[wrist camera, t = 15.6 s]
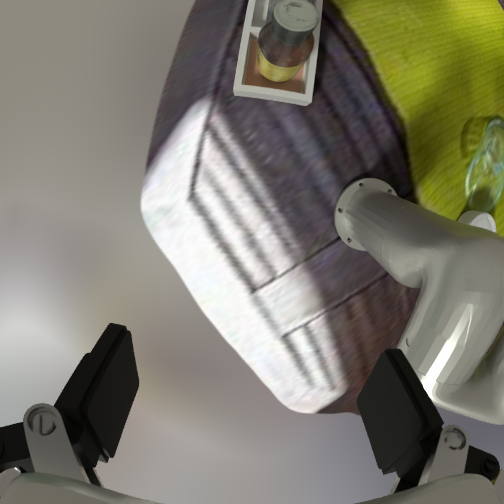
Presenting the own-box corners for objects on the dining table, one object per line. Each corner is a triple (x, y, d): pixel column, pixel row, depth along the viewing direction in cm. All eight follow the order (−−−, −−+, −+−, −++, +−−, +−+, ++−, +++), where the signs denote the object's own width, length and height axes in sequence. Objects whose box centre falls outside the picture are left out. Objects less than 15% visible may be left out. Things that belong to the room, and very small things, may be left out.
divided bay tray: (252, -9, 30) (253, -21, 26) (318, 1, 30) (323, -9, 27) (234, 95, 37) (233, 90, 34) (305, 106, 38) (311, 102, 34)
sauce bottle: (269, 42, 33) (284, -25, 14) (304, 61, 34) (345, 6, 16) (247, 73, 35) (247, 17, 16) (284, 93, 36) (313, 51, 18)
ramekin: (487, 230, 45) (501, 237, 40) (460, 265, 48) (474, 275, 43) (470, 195, 43) (486, 200, 38) (441, 233, 46) (456, 241, 41)
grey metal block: (300, 7, 30) (309, -15, 23) (297, 30, 32) (306, 9, 25) (269, 2, 30) (272, -22, 23) (265, 25, 32) (268, 2, 24)
